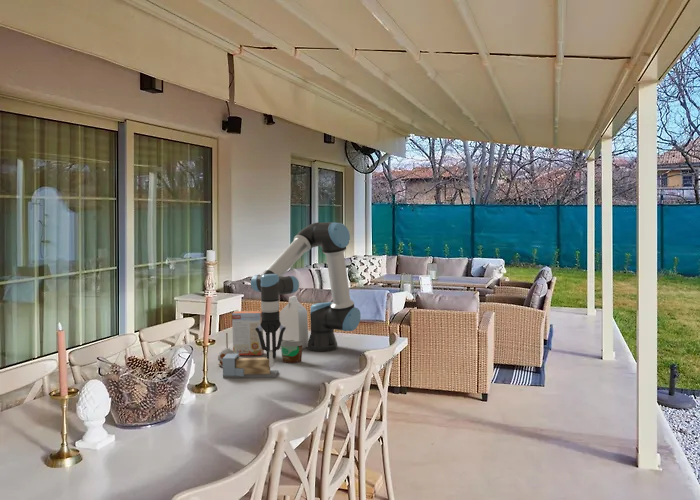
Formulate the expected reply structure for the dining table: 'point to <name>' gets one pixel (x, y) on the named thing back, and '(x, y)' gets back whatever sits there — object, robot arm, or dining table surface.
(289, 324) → the milk
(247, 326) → the cracker box
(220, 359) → the decorative ornament
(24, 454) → the dining table surface
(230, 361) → the board
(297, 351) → the food container
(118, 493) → the dining table surface
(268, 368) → the oak slat
